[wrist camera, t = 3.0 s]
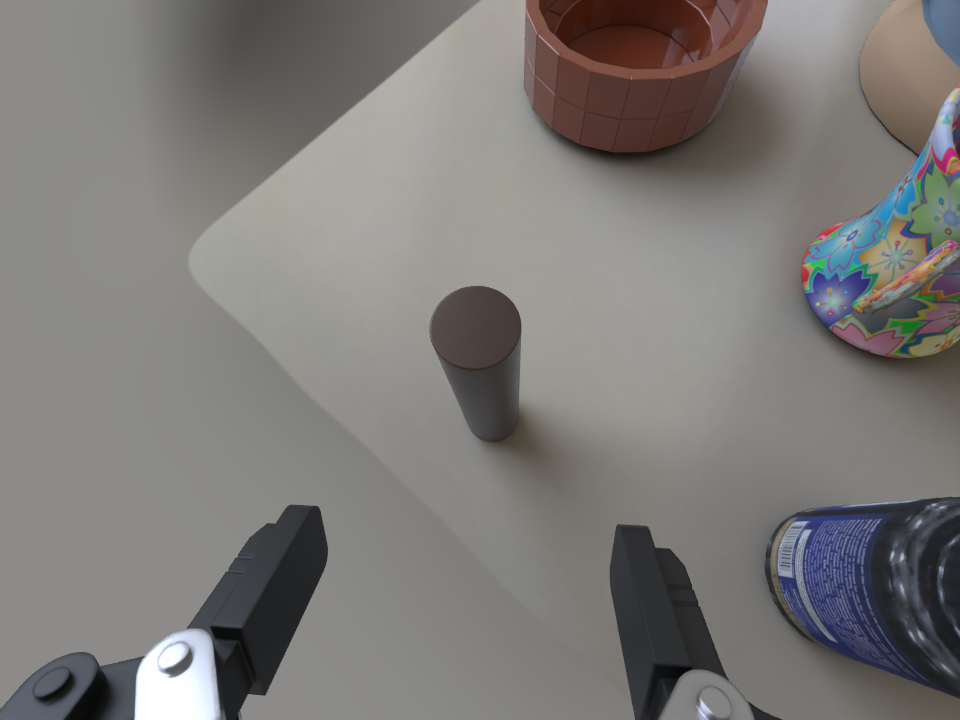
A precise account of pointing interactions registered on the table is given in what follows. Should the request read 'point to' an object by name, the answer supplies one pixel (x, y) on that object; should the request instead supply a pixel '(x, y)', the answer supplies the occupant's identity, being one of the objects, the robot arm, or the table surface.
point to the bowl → (635, 66)
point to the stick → (481, 357)
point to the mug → (897, 258)
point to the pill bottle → (875, 584)
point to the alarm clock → (912, 66)
